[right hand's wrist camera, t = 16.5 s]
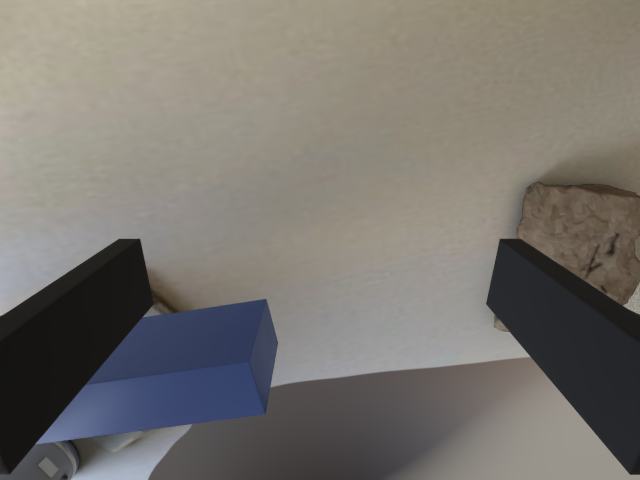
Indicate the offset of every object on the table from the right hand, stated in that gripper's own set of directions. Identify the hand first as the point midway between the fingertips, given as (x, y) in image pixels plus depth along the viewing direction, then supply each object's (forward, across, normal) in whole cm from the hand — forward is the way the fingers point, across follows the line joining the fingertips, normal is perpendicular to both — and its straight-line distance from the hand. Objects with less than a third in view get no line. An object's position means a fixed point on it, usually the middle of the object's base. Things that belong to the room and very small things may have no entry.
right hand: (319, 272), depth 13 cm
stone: (+31, +32, -13) cm, 46 cm away
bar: (+17, -19, -17) cm, 31 cm away
